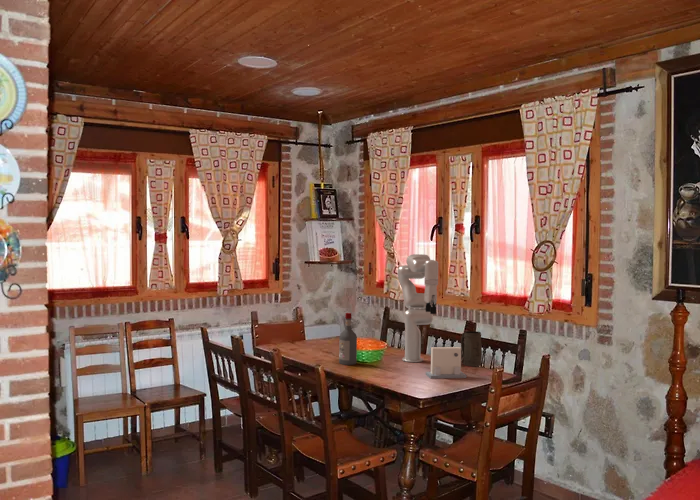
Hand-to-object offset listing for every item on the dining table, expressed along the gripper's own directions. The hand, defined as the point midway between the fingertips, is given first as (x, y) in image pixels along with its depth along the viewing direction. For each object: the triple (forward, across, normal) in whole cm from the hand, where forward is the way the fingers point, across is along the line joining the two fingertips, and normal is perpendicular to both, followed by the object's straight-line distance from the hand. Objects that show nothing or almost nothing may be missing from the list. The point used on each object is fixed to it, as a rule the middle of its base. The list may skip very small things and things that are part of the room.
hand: (430, 312), depth 340 cm
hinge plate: (+33, +11, +6) cm, 36 cm away
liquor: (+34, -26, -43) cm, 60 cm away
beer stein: (+34, -20, +30) cm, 49 cm away
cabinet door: (+32, +11, +6) cm, 34 cm away
